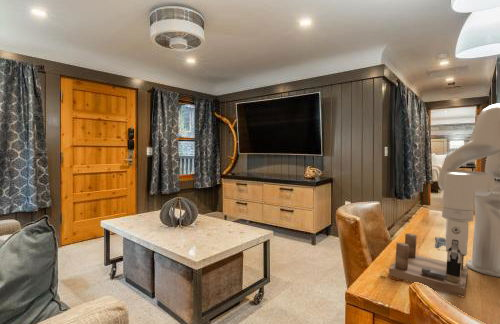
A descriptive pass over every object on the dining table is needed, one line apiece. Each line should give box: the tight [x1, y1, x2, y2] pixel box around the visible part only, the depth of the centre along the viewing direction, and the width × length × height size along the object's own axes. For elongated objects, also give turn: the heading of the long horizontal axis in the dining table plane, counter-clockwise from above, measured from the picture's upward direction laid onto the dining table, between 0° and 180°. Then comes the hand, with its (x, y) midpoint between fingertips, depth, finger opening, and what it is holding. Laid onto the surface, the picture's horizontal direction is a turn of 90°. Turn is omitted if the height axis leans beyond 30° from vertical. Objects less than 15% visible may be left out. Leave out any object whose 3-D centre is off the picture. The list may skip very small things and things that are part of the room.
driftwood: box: [434, 236, 447, 252], centre depth 126 cm, size 21×7×2 cm, turn 146°
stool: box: [388, 232, 469, 297], centre depth 95 cm, size 20×20×10 cm
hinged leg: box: [422, 251, 462, 283], centre depth 87 cm, size 10×4×8 cm, turn 54°
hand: (453, 269), depth 85 cm, fingers open, 9 cm apart
